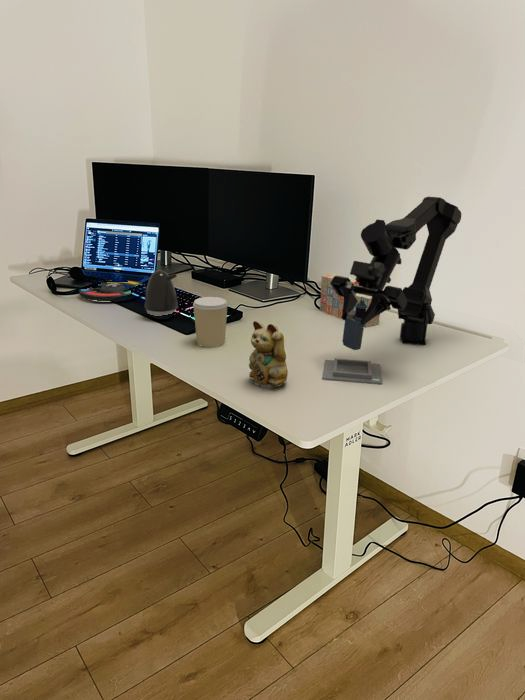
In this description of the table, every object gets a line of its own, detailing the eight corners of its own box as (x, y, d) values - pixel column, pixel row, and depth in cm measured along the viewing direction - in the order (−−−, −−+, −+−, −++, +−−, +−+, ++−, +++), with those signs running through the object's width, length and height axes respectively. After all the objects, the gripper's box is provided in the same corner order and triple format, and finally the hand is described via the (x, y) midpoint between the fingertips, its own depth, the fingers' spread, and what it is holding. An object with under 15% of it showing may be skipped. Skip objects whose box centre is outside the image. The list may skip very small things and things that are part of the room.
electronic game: (131, 285, 211) (130, 273, 209) (156, 299, 193) (155, 286, 191) (71, 293, 198) (70, 280, 197) (92, 308, 181) (90, 294, 179)
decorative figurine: (242, 382, 126) (242, 321, 121) (262, 371, 133) (263, 312, 128) (277, 393, 122) (279, 329, 116) (296, 381, 128) (298, 320, 123)
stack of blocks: (379, 324, 170) (383, 286, 166) (365, 328, 167) (369, 288, 162) (333, 308, 186) (335, 272, 182) (319, 311, 183) (321, 275, 179)
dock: (380, 365, 138) (380, 359, 138) (382, 384, 127) (382, 378, 127) (324, 361, 140) (325, 355, 140) (321, 379, 129) (322, 373, 129)
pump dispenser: (173, 323, 166) (171, 275, 161) (140, 321, 168) (137, 273, 163) (182, 314, 176) (181, 267, 170) (152, 312, 177) (149, 266, 172)
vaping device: (355, 351, 129) (362, 303, 125) (339, 343, 133) (345, 297, 128) (363, 349, 131) (369, 301, 126) (347, 341, 135) (353, 295, 130)
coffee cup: (232, 339, 154) (232, 298, 150) (221, 350, 146) (220, 307, 142) (201, 335, 157) (200, 295, 152) (188, 346, 148) (187, 304, 144)
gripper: (336, 242, 132) (307, 295, 128) (406, 253, 120) (376, 311, 116) (352, 269, 140) (325, 319, 136) (419, 281, 128) (391, 337, 125)
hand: (352, 321), depth 128 cm, fingers closed on vaping device, 5 cm apart
